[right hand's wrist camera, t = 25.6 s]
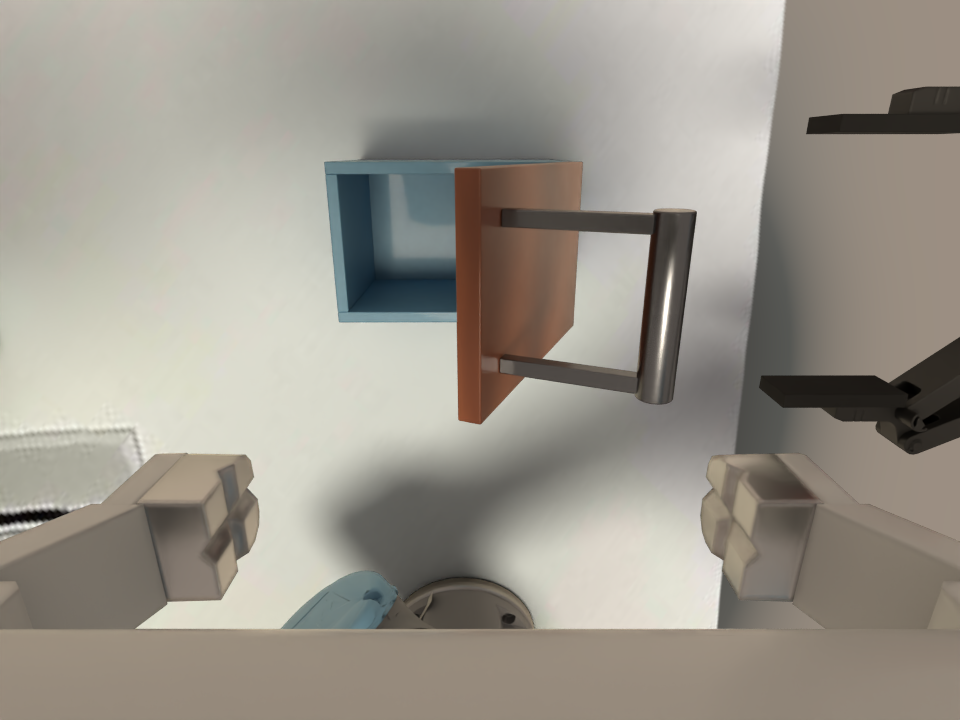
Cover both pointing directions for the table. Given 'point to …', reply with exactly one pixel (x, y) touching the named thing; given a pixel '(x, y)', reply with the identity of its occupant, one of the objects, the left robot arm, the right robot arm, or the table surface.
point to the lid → (552, 284)
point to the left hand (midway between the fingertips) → (794, 268)
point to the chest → (396, 237)
